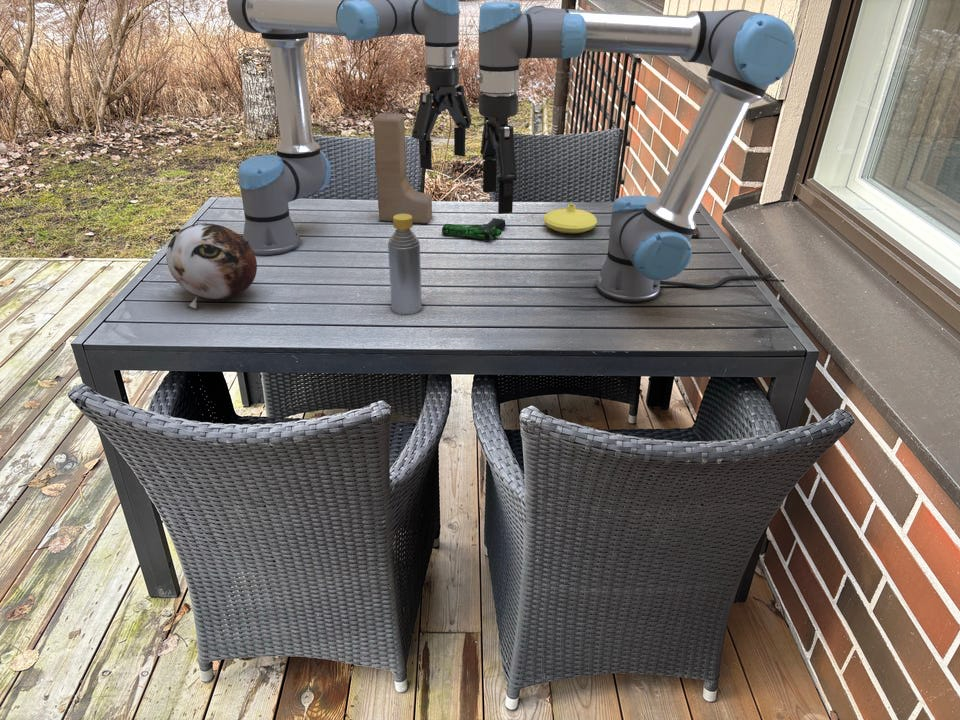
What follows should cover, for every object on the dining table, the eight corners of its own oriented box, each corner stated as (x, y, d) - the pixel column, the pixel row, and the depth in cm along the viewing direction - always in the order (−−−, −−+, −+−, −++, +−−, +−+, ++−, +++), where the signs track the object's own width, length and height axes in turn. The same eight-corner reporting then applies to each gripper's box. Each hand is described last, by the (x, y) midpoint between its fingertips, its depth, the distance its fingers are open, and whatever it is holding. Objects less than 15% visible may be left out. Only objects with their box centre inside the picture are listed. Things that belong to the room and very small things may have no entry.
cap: (391, 229, 154) (391, 219, 152) (395, 222, 157) (394, 213, 156) (411, 230, 153) (410, 220, 152) (414, 223, 157) (413, 213, 156)
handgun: (511, 219, 210) (493, 234, 198) (511, 228, 211) (492, 244, 199) (461, 212, 215) (440, 226, 203) (461, 221, 217) (440, 236, 204)
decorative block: (427, 224, 212) (425, 120, 197) (378, 221, 214) (372, 118, 199) (432, 215, 219) (430, 114, 204) (384, 213, 221) (379, 112, 205)
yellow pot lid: (559, 216, 220) (561, 193, 217) (605, 227, 212) (608, 204, 209) (532, 230, 209) (533, 207, 206) (580, 242, 201) (582, 218, 198)
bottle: (388, 313, 163) (383, 223, 152) (394, 300, 169) (389, 212, 158) (419, 315, 162) (416, 224, 151) (423, 301, 168) (421, 213, 157)
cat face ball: (130, 285, 161) (164, 203, 163) (192, 308, 177) (221, 233, 178) (195, 307, 151) (229, 220, 152) (254, 330, 166) (285, 250, 168)
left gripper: (421, 75, 148) (424, 176, 159) (486, 61, 166) (485, 153, 177) (393, 71, 151) (397, 171, 162) (460, 58, 169) (460, 148, 180)
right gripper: (466, 82, 145) (466, 185, 156) (494, 107, 124) (493, 224, 135) (501, 80, 146) (500, 182, 157) (536, 105, 125) (531, 221, 136)
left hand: (443, 161), depth 169 cm, fingers open, 13 cm apart
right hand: (497, 202), depth 146 cm, fingers open, 13 cm apart
